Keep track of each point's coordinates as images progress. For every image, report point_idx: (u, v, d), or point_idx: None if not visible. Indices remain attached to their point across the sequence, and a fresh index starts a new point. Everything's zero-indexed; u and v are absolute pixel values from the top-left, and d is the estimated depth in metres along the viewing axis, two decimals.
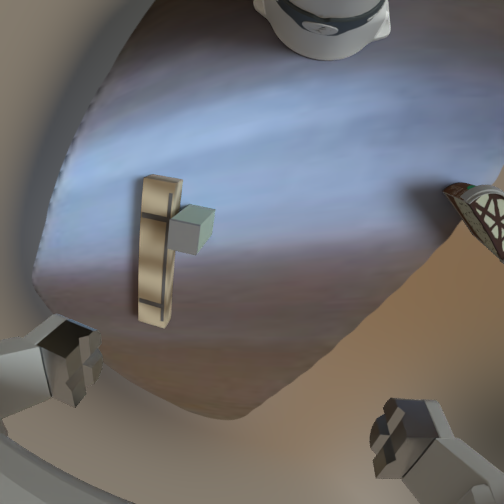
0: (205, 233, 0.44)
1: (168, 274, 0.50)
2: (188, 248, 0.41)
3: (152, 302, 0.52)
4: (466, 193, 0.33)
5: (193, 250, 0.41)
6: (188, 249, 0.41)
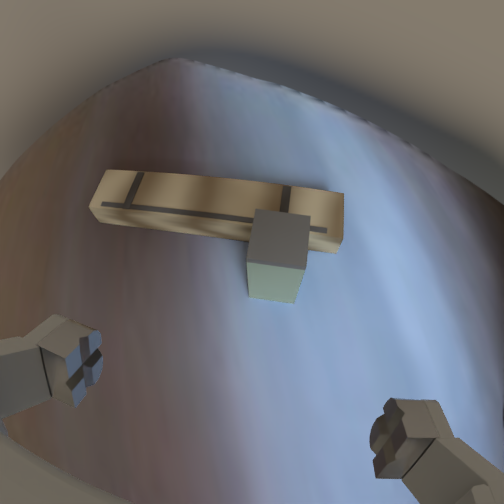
0: (269, 282, 0.25)
1: (182, 219, 0.30)
2: (259, 245, 0.22)
3: (135, 191, 0.31)
4: None
5: (256, 254, 0.22)
6: (257, 245, 0.22)
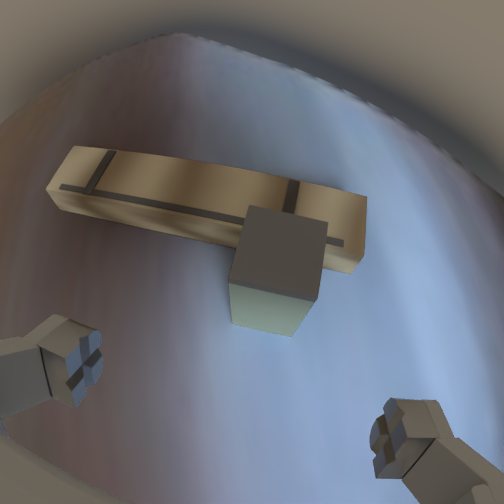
0: (260, 311, 0.17)
1: (153, 213, 0.22)
2: (249, 259, 0.15)
3: (100, 173, 0.23)
4: None
5: (243, 273, 0.14)
6: (246, 259, 0.15)
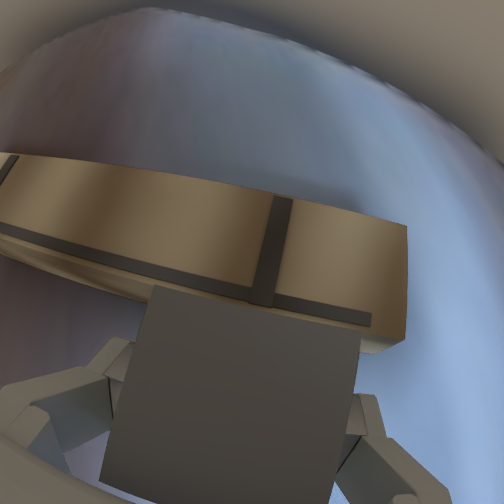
0: None
1: (49, 257, 0.12)
2: (147, 445, 0.05)
3: None
4: None
5: (133, 476, 0.04)
6: (140, 443, 0.05)
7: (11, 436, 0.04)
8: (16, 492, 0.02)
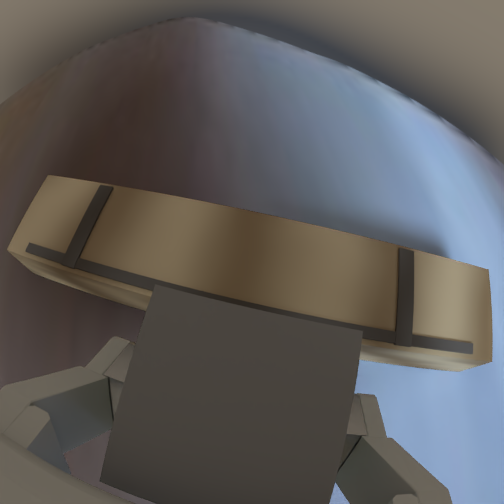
0: None
1: None
2: (148, 445, 0.05)
3: (89, 228, 0.14)
4: None
5: (134, 476, 0.04)
6: (141, 443, 0.05)
7: (11, 436, 0.04)
8: (16, 492, 0.02)
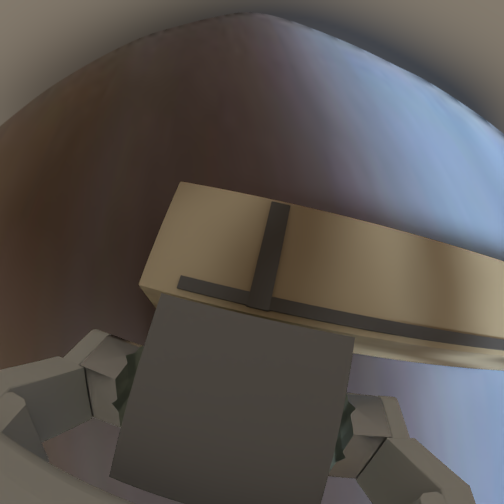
0: None
1: (402, 346, 0.11)
2: (155, 442, 0.05)
3: (276, 257, 0.12)
4: None
5: (142, 471, 0.05)
6: (148, 440, 0.05)
7: None
8: (16, 492, 0.02)
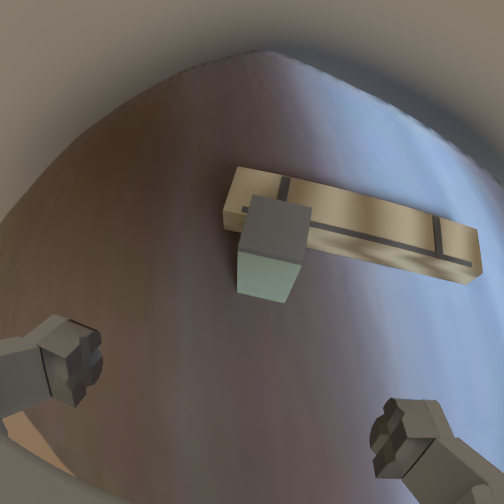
0: (260, 277, 0.23)
1: (345, 240, 0.26)
2: (253, 233, 0.20)
3: (285, 199, 0.27)
4: None
5: (249, 243, 0.20)
6: (251, 233, 0.20)
7: None
8: (16, 492, 0.02)
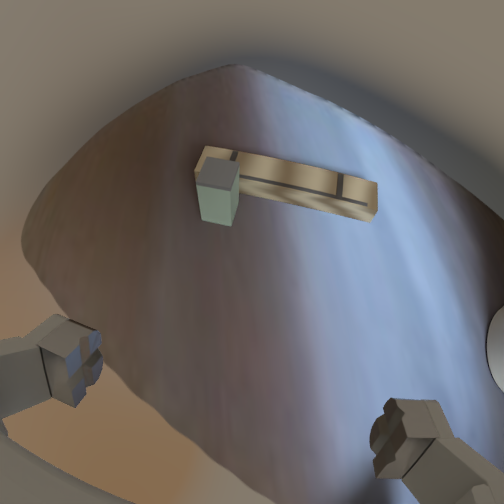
0: (212, 204, 0.39)
1: (270, 187, 0.42)
2: (204, 175, 0.36)
3: None
4: None
5: (202, 179, 0.35)
6: (203, 175, 0.36)
7: None
8: (16, 492, 0.02)
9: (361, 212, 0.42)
